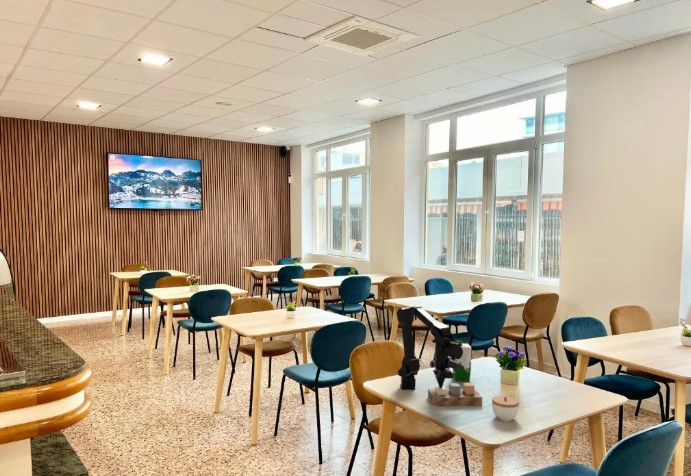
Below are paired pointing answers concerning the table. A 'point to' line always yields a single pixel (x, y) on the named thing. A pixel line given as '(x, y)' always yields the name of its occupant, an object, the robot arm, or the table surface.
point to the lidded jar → (505, 407)
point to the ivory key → (440, 390)
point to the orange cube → (468, 388)
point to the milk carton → (463, 363)
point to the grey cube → (454, 388)
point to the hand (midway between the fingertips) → (440, 387)
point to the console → (454, 399)
